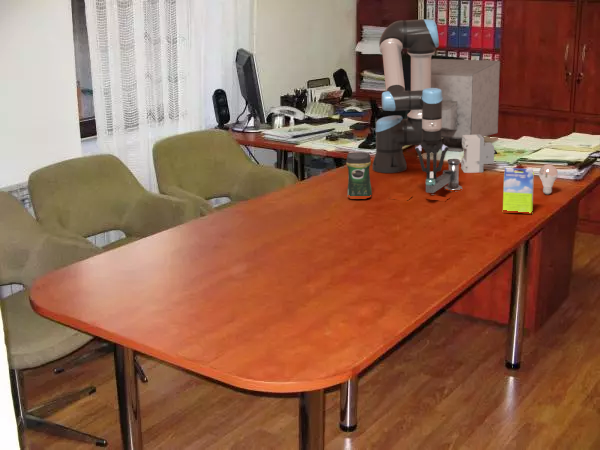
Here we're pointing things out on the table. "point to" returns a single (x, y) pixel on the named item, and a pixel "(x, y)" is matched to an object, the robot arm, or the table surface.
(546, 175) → the light bulb
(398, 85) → the robot arm
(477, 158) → the circuit breaker
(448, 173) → the swing bar
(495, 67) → the crt monitor
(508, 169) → the box
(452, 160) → the post
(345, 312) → the table surface
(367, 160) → the coffee jar
